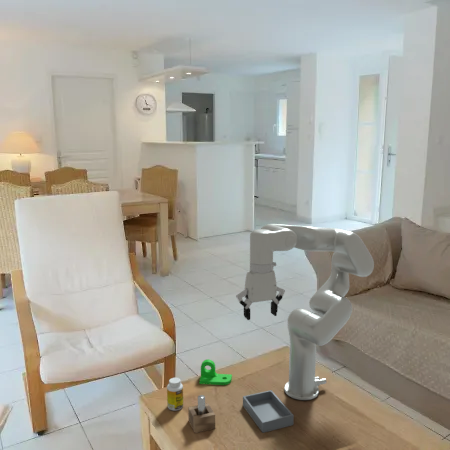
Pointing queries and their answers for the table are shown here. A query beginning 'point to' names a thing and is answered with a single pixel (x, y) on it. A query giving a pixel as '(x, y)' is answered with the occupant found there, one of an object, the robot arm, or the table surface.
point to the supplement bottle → (175, 394)
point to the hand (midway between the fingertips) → (260, 316)
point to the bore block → (201, 419)
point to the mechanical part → (213, 375)
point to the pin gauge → (201, 404)
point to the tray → (267, 411)
